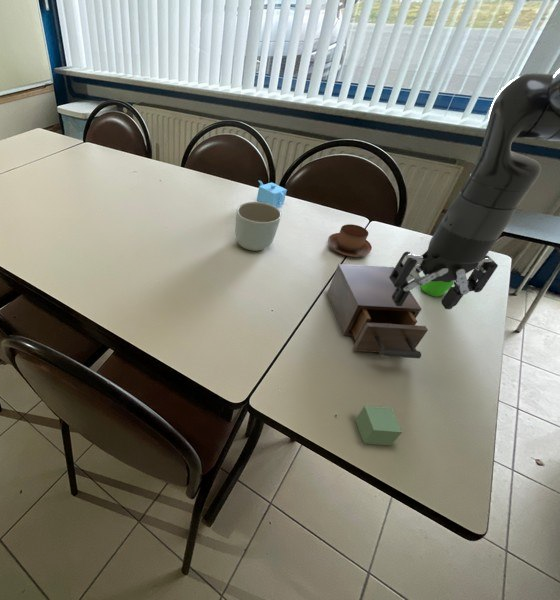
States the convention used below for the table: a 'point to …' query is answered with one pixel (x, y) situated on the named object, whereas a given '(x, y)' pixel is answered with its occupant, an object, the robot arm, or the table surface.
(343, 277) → the cabinet
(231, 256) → the table surface
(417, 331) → the drawer
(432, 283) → the cup
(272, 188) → the teapot
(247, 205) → the planter
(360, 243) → the cup and saucer
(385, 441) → the block
